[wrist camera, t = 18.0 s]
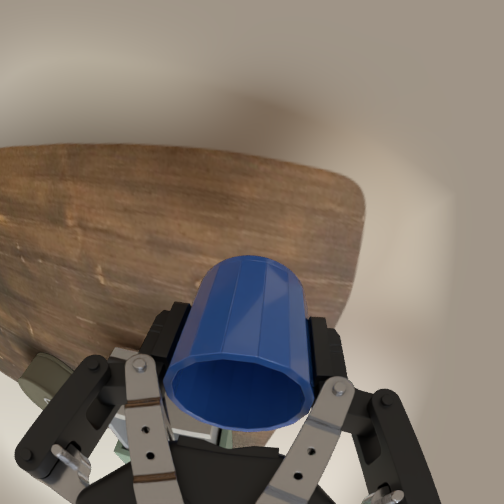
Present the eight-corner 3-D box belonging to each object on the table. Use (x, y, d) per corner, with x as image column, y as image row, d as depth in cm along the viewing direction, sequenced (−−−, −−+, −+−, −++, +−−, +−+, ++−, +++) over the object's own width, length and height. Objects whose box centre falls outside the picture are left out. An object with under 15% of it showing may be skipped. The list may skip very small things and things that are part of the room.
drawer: (104, 316, 28) (66, 374, 20) (222, 335, 28) (205, 410, 20) (141, 407, 37) (124, 453, 30) (226, 423, 37) (218, 475, 29)
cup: (314, 261, 14) (331, 361, 8) (296, 342, 16) (297, 435, 11) (197, 249, 14) (151, 340, 8) (201, 332, 17) (174, 420, 11)
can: (25, 348, 37) (7, 373, 31) (63, 354, 35) (43, 385, 29) (59, 390, 43) (45, 415, 36) (99, 400, 41) (86, 429, 35)
